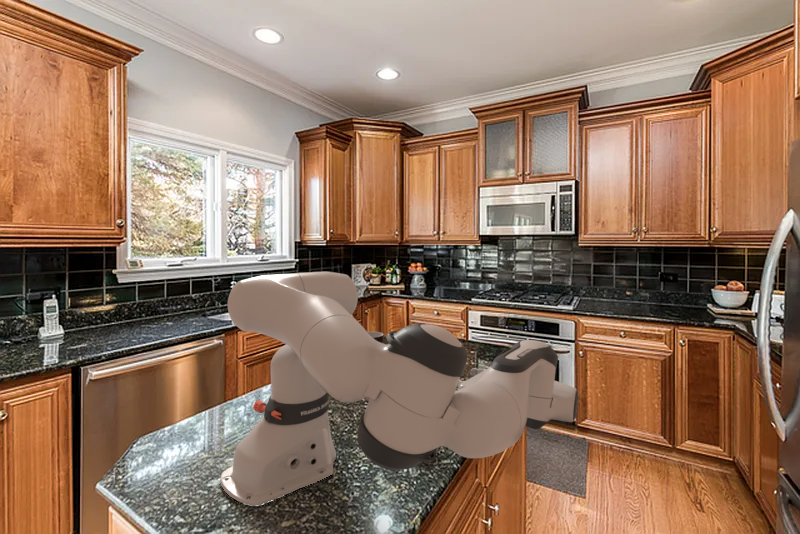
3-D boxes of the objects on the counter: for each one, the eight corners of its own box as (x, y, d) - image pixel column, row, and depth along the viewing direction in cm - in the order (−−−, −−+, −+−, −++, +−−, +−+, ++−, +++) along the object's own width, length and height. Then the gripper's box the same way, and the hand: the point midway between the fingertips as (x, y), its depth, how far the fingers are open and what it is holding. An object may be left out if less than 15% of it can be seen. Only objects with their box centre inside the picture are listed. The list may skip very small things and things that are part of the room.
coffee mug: (370, 355, 151) (370, 330, 151) (388, 359, 146) (388, 333, 146) (350, 363, 142) (350, 337, 141) (368, 368, 137) (368, 340, 136)
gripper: (490, 415, 89) (441, 399, 98) (525, 388, 105) (480, 376, 113) (491, 388, 88) (441, 375, 97) (526, 365, 104) (480, 356, 113)
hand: (462, 376), depth 106 cm, fingers open, 8 cm apart
